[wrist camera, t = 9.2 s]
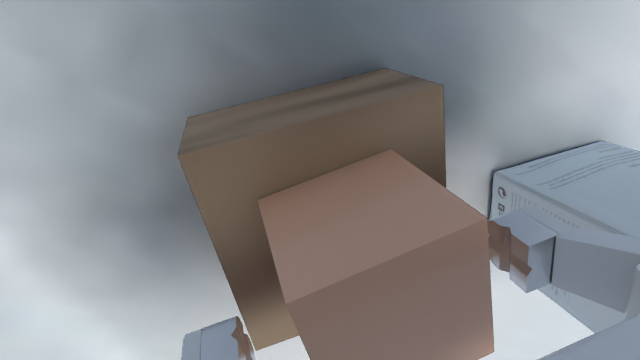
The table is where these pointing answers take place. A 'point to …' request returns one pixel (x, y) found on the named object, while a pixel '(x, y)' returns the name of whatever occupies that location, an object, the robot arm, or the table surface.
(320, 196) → the terracotta cube
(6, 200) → the table surface
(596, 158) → the skincare box
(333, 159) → the walnut block
